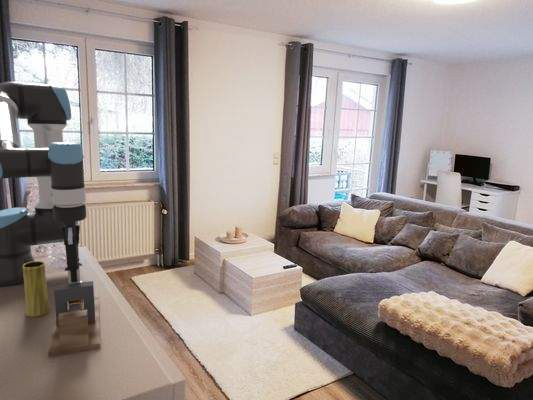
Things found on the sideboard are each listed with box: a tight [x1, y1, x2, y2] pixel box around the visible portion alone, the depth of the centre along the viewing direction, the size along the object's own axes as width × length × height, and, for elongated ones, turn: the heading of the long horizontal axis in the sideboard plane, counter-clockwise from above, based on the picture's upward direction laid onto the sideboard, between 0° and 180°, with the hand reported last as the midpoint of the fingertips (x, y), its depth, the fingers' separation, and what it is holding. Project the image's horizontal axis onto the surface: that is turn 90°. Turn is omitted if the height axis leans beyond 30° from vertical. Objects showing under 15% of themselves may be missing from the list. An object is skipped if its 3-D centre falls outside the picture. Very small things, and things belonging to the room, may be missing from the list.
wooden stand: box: [47, 296, 101, 358], centre depth 105 cm, size 27×11×9 cm, turn 23°
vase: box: [22, 260, 51, 318], centre depth 111 cm, size 6×6×14 cm
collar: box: [53, 280, 95, 327], centre depth 103 cm, size 3×9×10 cm, turn 113°
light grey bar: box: [68, 280, 83, 312], centre depth 105 cm, size 22×3×3 cm, turn 23°
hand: (75, 291), depth 104 cm, fingers closed
